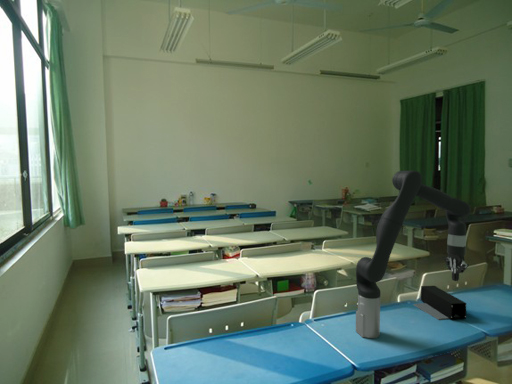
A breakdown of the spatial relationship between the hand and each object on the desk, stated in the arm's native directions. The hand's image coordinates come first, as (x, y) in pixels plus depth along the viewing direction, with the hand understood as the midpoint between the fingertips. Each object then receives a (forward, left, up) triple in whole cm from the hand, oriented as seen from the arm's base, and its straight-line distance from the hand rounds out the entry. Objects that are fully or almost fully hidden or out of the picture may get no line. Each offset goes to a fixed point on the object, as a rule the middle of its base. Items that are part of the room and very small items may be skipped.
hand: (455, 280), depth 162 cm
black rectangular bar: (+3, 0, -15) cm, 16 cm away
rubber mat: (0, +12, -20) cm, 23 cm away
